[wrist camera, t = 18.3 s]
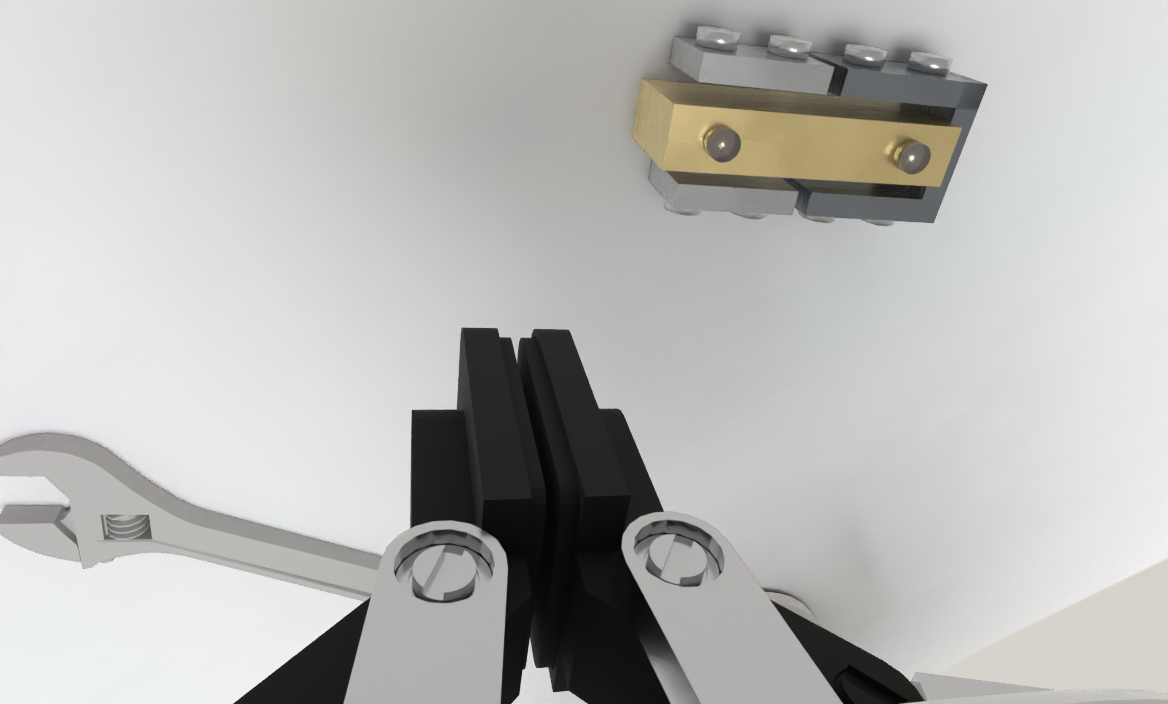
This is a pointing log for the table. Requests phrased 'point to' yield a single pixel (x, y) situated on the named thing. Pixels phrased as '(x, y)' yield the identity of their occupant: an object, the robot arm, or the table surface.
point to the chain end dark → (898, 82)
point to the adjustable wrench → (158, 521)
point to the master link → (790, 134)
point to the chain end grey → (748, 67)
